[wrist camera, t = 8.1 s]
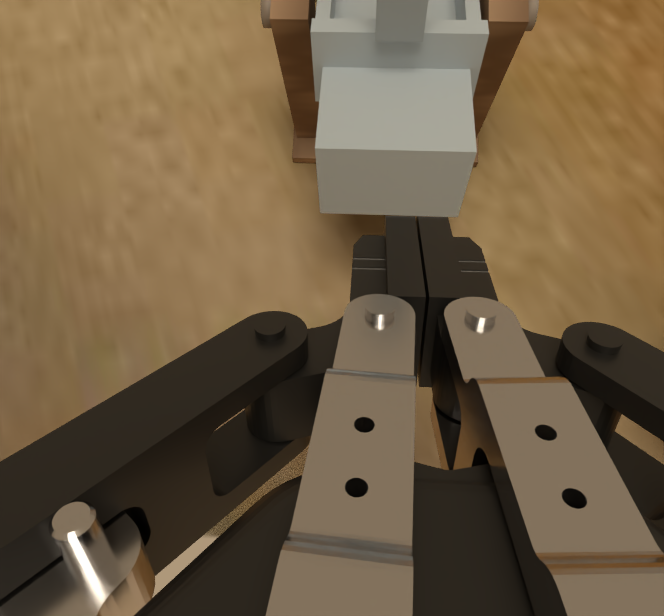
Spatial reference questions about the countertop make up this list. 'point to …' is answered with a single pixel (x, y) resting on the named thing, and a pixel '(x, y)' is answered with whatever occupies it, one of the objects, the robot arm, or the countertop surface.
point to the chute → (396, 104)
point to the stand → (297, 66)
